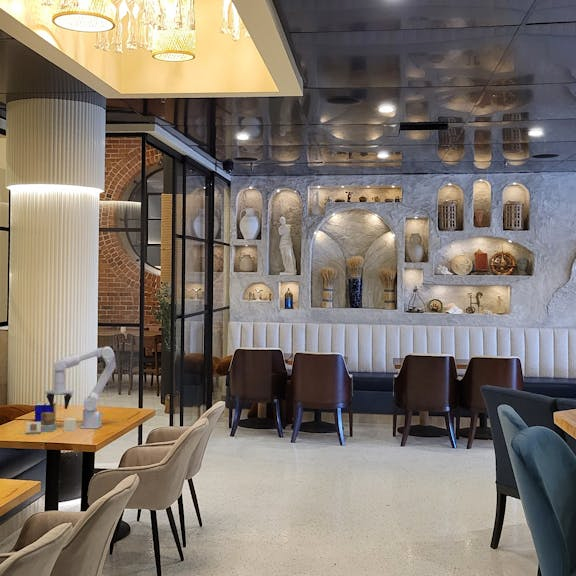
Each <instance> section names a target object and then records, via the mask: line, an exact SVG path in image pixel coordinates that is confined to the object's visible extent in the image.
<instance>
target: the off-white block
mask: <svg viewBox="0 0 576 576" xmlns="http://www.w3.org/2000/svg"><path fill="white" fill-rule="evenodd" d="M76 430H77V418H76V417H67V418H64V419H63V432H75V431H76Z"/></svg>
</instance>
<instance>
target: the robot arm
mask: <svg viewBox="0 0 576 576" xmlns="http://www.w3.org/2000/svg"><path fill="white" fill-rule="evenodd" d="M94 357H96V358H102V359H103V360H104V362H105V368H104V369H103V371H102V373H101V375H100V377H99V379H98V380H97V382H96V384H95V386H94V387H93V389H92V390H91V392H90V394H89V395H88V397H86V398H85V399H84V401H83V408H84V409H82V425H81V426H80V427H79V428H80V429H99V428H101V427H103V425H102V424H103V423H102V420H103V419H102V412H101V410H98V409H97V408H96V406H97V402H98V400H99V397H100V396H101V394H102V392H103V390H104V389H105V387H106V384H107V383H108V381H109V380H110V377H111V375H112V374H113V373H114V371H115V369H116V367H117V364H116V355H115V352H114V350H113V349H112V347H111V346H108V345H107V346H103V347H99V348H95V349H92V350H89V351H87V352H84V353H82V354H79V355H78V354H70V355H69V356H67V357H62V358H61V359H57V360H56V361H55V362H54V364H53V368H54V369H53V373H54V374H53V390H45V397H46V399H47V402H49V403H50V408H51V409H52V408H53V407H54V402H55V401H54V399H55V396H56V395H58V396H63V398H64V410H67V409H68V406H69V402H70V400H72V399H71V398H72V396H73V395H74V390H66V374H65V373H66V369H70V368H72V367H75V366H78V365H80V363H81V362H82V361H85V360H88V359H92V358H94Z"/></svg>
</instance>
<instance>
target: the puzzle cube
mask: <svg viewBox="0 0 576 576" xmlns="http://www.w3.org/2000/svg"><path fill="white" fill-rule="evenodd" d="M56 408H57V402H55V401H54V407H53V408H52V409H51V408H50V403H49V401H47V402H37V403H36V404H35V405H34V422H41V413H45V412H52V413H55V421H56V419H57V418H56V415H57V412H56V410H57V409H56Z"/></svg>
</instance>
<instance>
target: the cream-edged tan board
mask: <svg viewBox="0 0 576 576" xmlns="http://www.w3.org/2000/svg"><path fill="white" fill-rule="evenodd" d="M41 434H42V432H41V422H35V421H27V422H26V423H25V435H41Z"/></svg>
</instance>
